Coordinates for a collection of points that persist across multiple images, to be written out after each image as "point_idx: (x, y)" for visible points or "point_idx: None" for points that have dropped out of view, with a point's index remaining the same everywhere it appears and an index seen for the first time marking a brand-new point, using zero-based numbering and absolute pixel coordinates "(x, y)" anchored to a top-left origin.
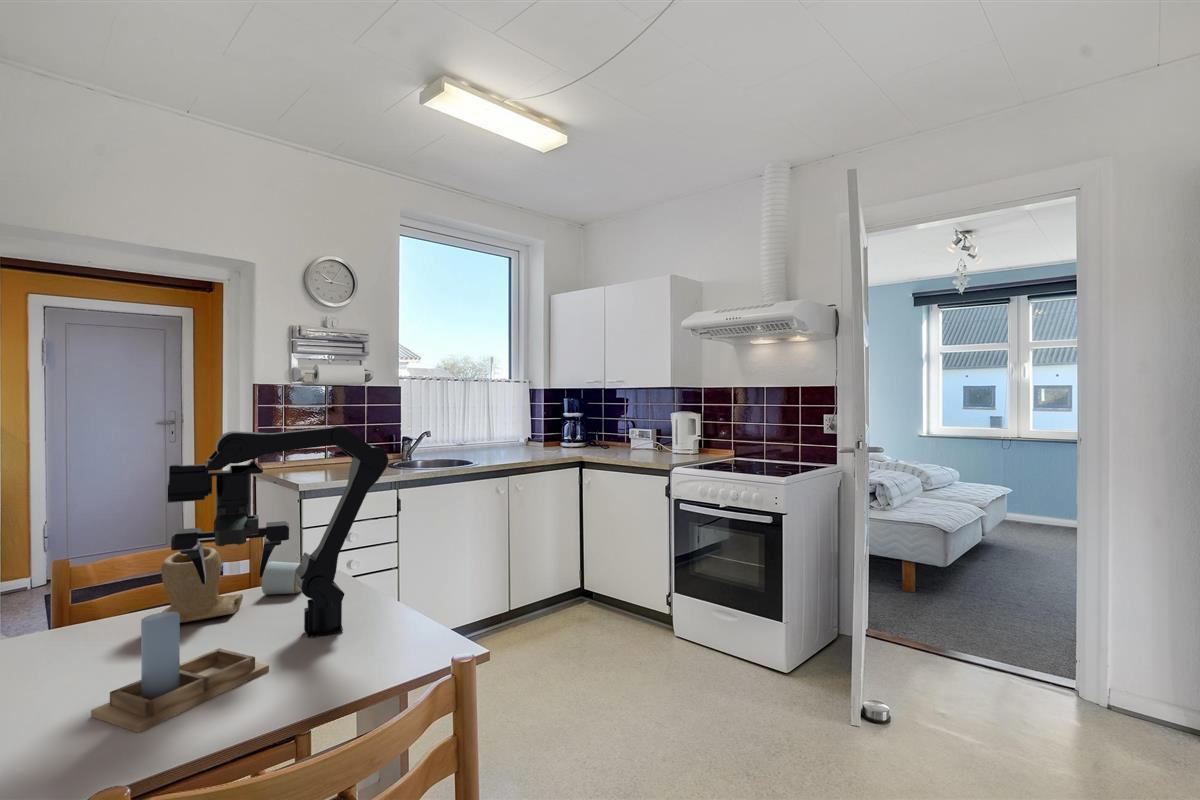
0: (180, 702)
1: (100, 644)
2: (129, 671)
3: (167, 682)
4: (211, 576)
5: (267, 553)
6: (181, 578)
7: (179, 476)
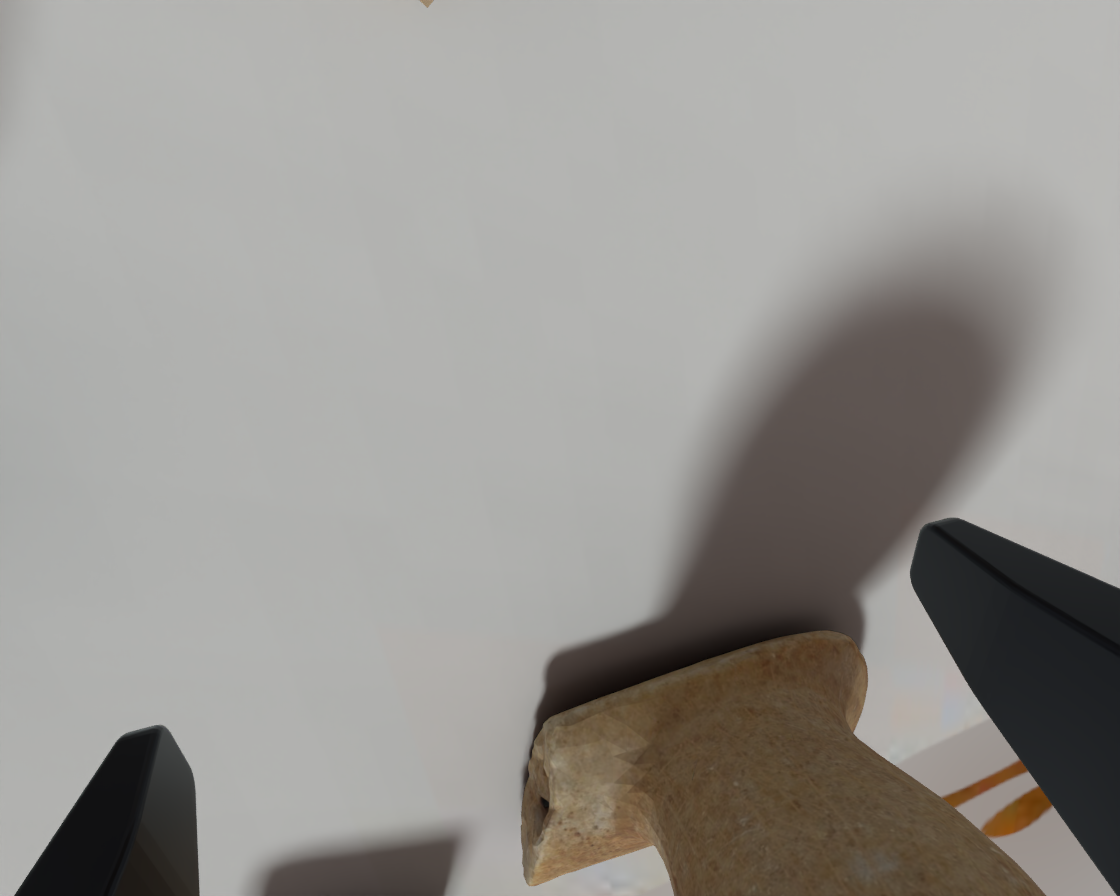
0: None
1: (1056, 477)
2: (994, 32)
3: None
4: None
5: None
6: (931, 857)
7: None
